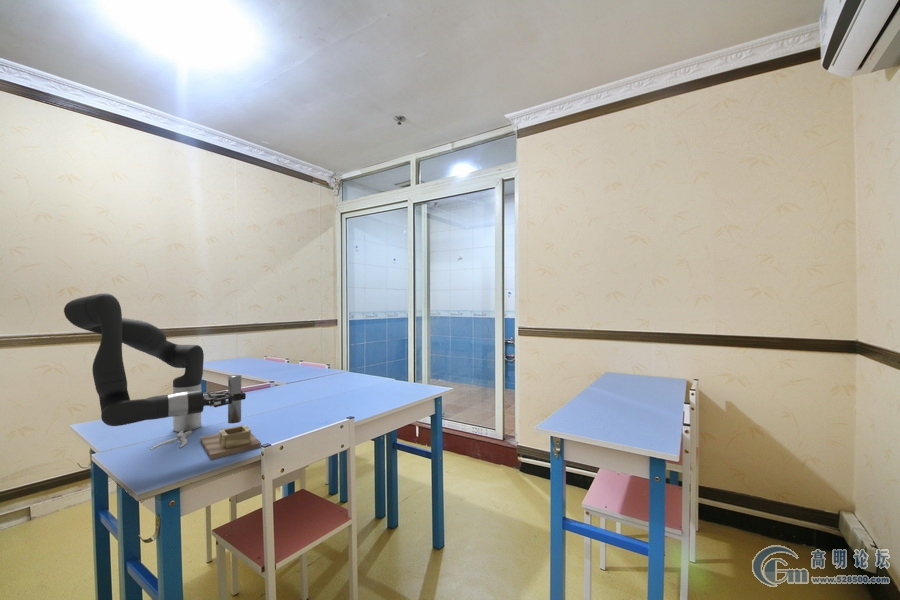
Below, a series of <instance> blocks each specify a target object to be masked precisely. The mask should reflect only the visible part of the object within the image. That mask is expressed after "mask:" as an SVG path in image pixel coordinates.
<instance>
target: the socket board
mask: <svg viewBox="0 0 900 600" xmlns="http://www.w3.org/2000/svg"><path fill="white" fill-rule="evenodd" d="M199 438H200V440H199V442H200V443H202V444H201V445H202V447H203V449H204V448H205V449H204V450H206V451H205V452H206V454H207V456H208V455H209V456H208V458H209V459H210V460H214V459H218V458H222V457H226V456H230V454H231V455H233V454H234V453H235V454H239V453H242V451H243V452H247V451H250V450H254V449H259V448H261V447H262V442H261V441H260V440H259V439H258V438H257V437H256V436H255V435H254V434H253V432H252V430H251V428H250V427H249V426H248V425H244V424H241V425H237V426H236V425H235V426H232V427H227V428H222V429H220V430H219V431H218V433H214V434H209V435H205V436H201V437H199ZM260 446H261V447H260ZM213 458H214V459H213Z"/></svg>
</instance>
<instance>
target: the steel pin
mask: <svg viewBox="0 0 900 600" xmlns="http://www.w3.org/2000/svg"><path fill="white" fill-rule="evenodd" d="M227 381H228V383H227V384H228V385H227V391H228V395H231V394H239V393H241V391H242V374H234V375H229V376H228V377H227ZM240 422H242V400H238V401H233V403H232V404H227V423H228V424H238V423H240Z"/></svg>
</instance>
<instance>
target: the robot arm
mask: <svg viewBox="0 0 900 600" xmlns="http://www.w3.org/2000/svg"><path fill="white" fill-rule="evenodd" d="M63 313H64V316H65V318H66V319H67V320H68V321H69V322H70V324H72V325H73V326H75V327H77V328H79V329H82V330H86V331H88V332H90V333H91V332H92V333H95V334H99V335H101V339H100V344H99V346H98V349H97V352H96V354H95V357H94V360H93V362H92V369H91V370H92V378H93V382H94V386H95V390H96V393H97V395H98V398H99V405H100V406H99V407H100V412H101V413H100V414H101V415H100V418H101V421H102V422H103V423H104V424H105V425H107V426H109V427H119V426H125V425H130V424H135V423H139V422H143V421H150V420H158V419H166V418H172V431H173V432H178V433H179V432H181V431H183V432H188V431H190V430H192V431H193V430H197V429H199V428H200V427H201V426H202V413H203V412H204V407H208V406H209V407H210V408H211V407H213V408H219V407H223V406H226V405H227V406H228V404H232V403H233V401H238V400H241V401H242V400H243V401H244V400H245V399H246V393H245V392H243V391H242V390H241V393H239V394H231V395H228V390H219V391H217V390H216V391H208V392H206V393H207V394H204V392H203V390H202V379H203V375H204V361H205V360H204V359H205V358H204V350H203V348H202V347H201V346H200V345H198V344H176V343H174V342H171V341H168V339H167V335H166V333H165V331H163V330H162V329H160V328H159V327H157V326H155V325H153V324H151V323H149V322H147V321H143V320H140V319H139V320H138V319H134V318H133V319H132V318H126V317H123V314H122V308H121V305H120V301H119V300H118V299H117V298H116V296H114V295H113V294H111V293H105V292H102V293H97V294H96V293H95V294H92V295H87V296H83V297H79V298H75V299H73V300H70V301H69V302H67V303H66V304H65V306H64V308H63ZM123 344H124V345H126V346H128V347H130V348H133V349H134V350H137V351H140V352H143V353H145V354H147V355H149V356H152V357H155V358H157V359H158V360H160V361H162V363H165V364H167V365H168V366H170V367H172V368H176V369H184V374H183V375H181V376H179V377H178V376H177V377H175V378H174V379H173V380H172V393H168V394H162V395H156V396H150V397H147V398H138V399H131V398H130V394H129V391H128V380H127V374H126V369H125V364H124V359H123Z"/></svg>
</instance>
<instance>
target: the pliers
mask: <svg viewBox="0 0 900 600" xmlns="http://www.w3.org/2000/svg"><path fill="white" fill-rule="evenodd" d="M192 432H193V430H189V431H185V432H184V431H181V432H178V433H177V434H176V437H174V438H171V439H168V440H165V441H162V442H159V443H156V445H154V446H152V447H150V451H153V450H155V449H157V448H158V447H160V446H163V444H164V445H167V444H168V443H169V444H173V443H174V442H175V441H177V442H178V443H179V444H181V445H180V446H179V449H182V448H183V446H184V447H185V446H186V445H187V444H188V441H189V440H188V439H187V437H188V436H190V435H192ZM180 438H181V439H180ZM176 439H177V440H176ZM179 440H180V441H179ZM154 448H155V449H154ZM152 449H153V450H152Z"/></svg>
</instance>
